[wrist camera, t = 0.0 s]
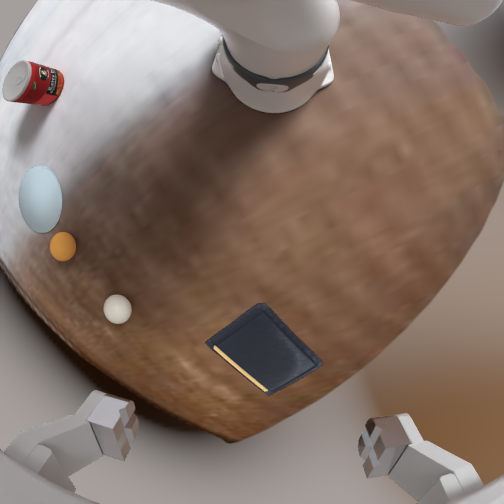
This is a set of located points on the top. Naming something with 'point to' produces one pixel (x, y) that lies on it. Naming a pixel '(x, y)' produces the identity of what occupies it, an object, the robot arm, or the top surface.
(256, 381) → the wallet
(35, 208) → the light blue disc
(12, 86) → the canned food
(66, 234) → the orange ball
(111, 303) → the white ping pong ball
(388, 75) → the top surface
